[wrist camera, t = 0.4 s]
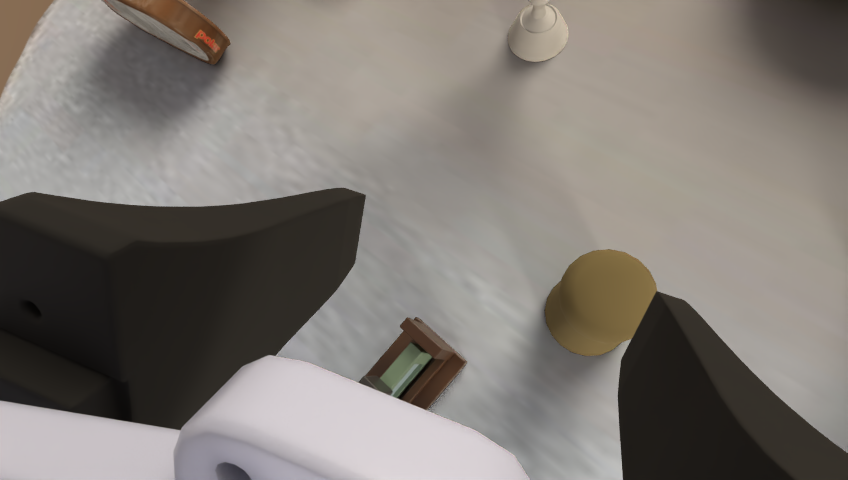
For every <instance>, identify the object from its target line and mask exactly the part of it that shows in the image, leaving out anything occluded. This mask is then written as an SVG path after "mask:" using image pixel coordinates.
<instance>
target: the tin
mask: <svg viewBox="0 0 848 480" xmlns="http://www.w3.org/2000/svg"><path fill="white" fill-rule="evenodd" d="M102 1H103V2H105V3H106V4H107V5H108V6H109V7H110V8H111V9H112V10H113V11H114V12H116V13H117V14H118V15H120V16H121V17H123V18H124V19H126V20H128V21H129V22H131V23H132V24H134V25H135V26H137V27H139V28H140V29H142V30H144V31H146V32H147V33H149V34H151V35H153V36H155V37H157V38H159V39H160V40H162V41H164V42H166V43H168V44H170V45H172V46H174V47H175V48H177V49H179V50H181V51H183V52H185V53H187V54H189V55H191V56H193V57H195V58H197V59H199V60H201V61H204V62H206V63H209V64H216V63H217V62H218V60H219V59H220V57H221V56H222V54H223V53H224V51H225V49H226V48H227V46H229V45H230V40H229V39H228V37H227V36H226V35H225V34H224V33H223V32H222V31H221V30H220V29H219V28H218V27H217V26H216V25H215V24H214V23H213V22H211V21H210V20H209V19H208V18H206V17H205V16H204V15H203V14H201V13H200V12H199V11H197V10H196V9H195V8H194V7H192V6H191V5H189V4H188V3H186V2H185V1H183V0H102Z"/></svg>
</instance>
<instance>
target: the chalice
mask: <svg viewBox="0 0 848 480" xmlns="http://www.w3.org/2000/svg"><path fill="white" fill-rule="evenodd" d="M528 1H529V2H530V3H531V5H528V6H526V7H525V8H524V9H523V10H521V11H520V13H519V14H518V16H517V18H516V19H515V21H514V23H513V24H512V26H511V27H510V29H509V33H508V44H509V46H510V48H511V50H512V52H513V53H514V54H515V55H517V56H518V57H519V58H522V59H524V60H526V61H533V62H538V61H545V60H548V59H550V58H552V57H554V56H556V55H557V54H558V53H559V52H561V51H562V49H563V48H564V46H565V45H566V43H567V40H568V36H569V33H568V26H567V25H566V23H565V21H564V19H563V18H562V16H561V14H560V13H559V11H558V10H557V9H556V8H555V7H554V6H552V5H550V4H548V3H547V2H548V1H549V0H528Z"/></svg>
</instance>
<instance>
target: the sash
mask: <svg viewBox="0 0 848 480" xmlns="http://www.w3.org/2000/svg"><path fill="white" fill-rule="evenodd" d="M432 358H433V357H432V356H431V355H430V354H429V353H427V352H426V351H425V350H424V349H423V348H422V347H421V346H420V345H419V344H416V343H412V342H411V343H410V344H409V345H408V346H407V347H406V348H405V349H404V351H403V352H402V353H401V354H400V355H399V356H398V358H397V359H396V360H395V361H394V362H393V363H392V365H391V366H390V367H389V368H388V369H387V370H386V372H385V373H384V374H383V375H382V376H381V377H380V378H379V377H378V376H364V377H363V378H362V379H361V380H360V381H359V382H358V383H360V384H363V385H365V386H368V387H370V388H373V389H375V390H378V391H380V392H383V393H385V394H388V395H390V396H392V397H395V398H397V399H398V398H399V396H400V395H401V394H402V393H403V392H404V391H405V389H406V388H407V387H408V386H409V385H410V384H411V382H412V381H413V380H414V379H415V378H416V376H417V375H418V374H419V373H420V372H421V371H422V369H423V368H424V367H425V366H426V365H427V364H428V362H429V361H430V360H431V359H432Z"/></svg>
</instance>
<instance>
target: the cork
mask: <svg viewBox="0 0 848 480" xmlns="http://www.w3.org/2000/svg"><path fill="white" fill-rule="evenodd" d="M656 291H657V288H656V283H655V281H654V279H653V277H652V275H651V273H650V271H649V270H648V269H647V268H646V267H645V266H644V265H643V264H642V263H641V262H640V261H639V260H638V259H636V258H634V257H632V256H631V255H629V254H627V253H625V252H620V251H615V250H610V249H608V250H597V251H592V252H590V253H587V254H585V255H582V256H580V257H579V258H578V259H576V260H575V261H574V262H573V263H572V264H571V265H569V267H568V269H567V270H566V272H565V274H564V275H563V277H562V279H561V281H560V282H559V283H558V284H557V285H556V286H555V287H554V288H553V289H552V291H551V293H550V294H549V296H548V298H547V302H546V307H545V316H546V324H547V326H548V328H549V330H550V332H551V335H552V336H553V337H554V338H555V339H556V341H557V342H558V343H559V344H560V345H561V346H563V347H564V348H566V349H568V350H569V351H571V352H573V353H577V354H580V355H584V356H593V355H601V354H604V353H606V352H609V351H612V350H613V349H614V348H615V347H617V346H618V345H619V344H620V343H621V342H624V341H627V340H629V339H632V338H633V336H634V334H635V332H636V330H637V328H638V326H639V324H640V322H641V320H642V318H643V316H644V314H645V312H646V310H647V308H648V306H649V304H650V302H651V301H652V299H653V297H654V295H655V293H656Z"/></svg>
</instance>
